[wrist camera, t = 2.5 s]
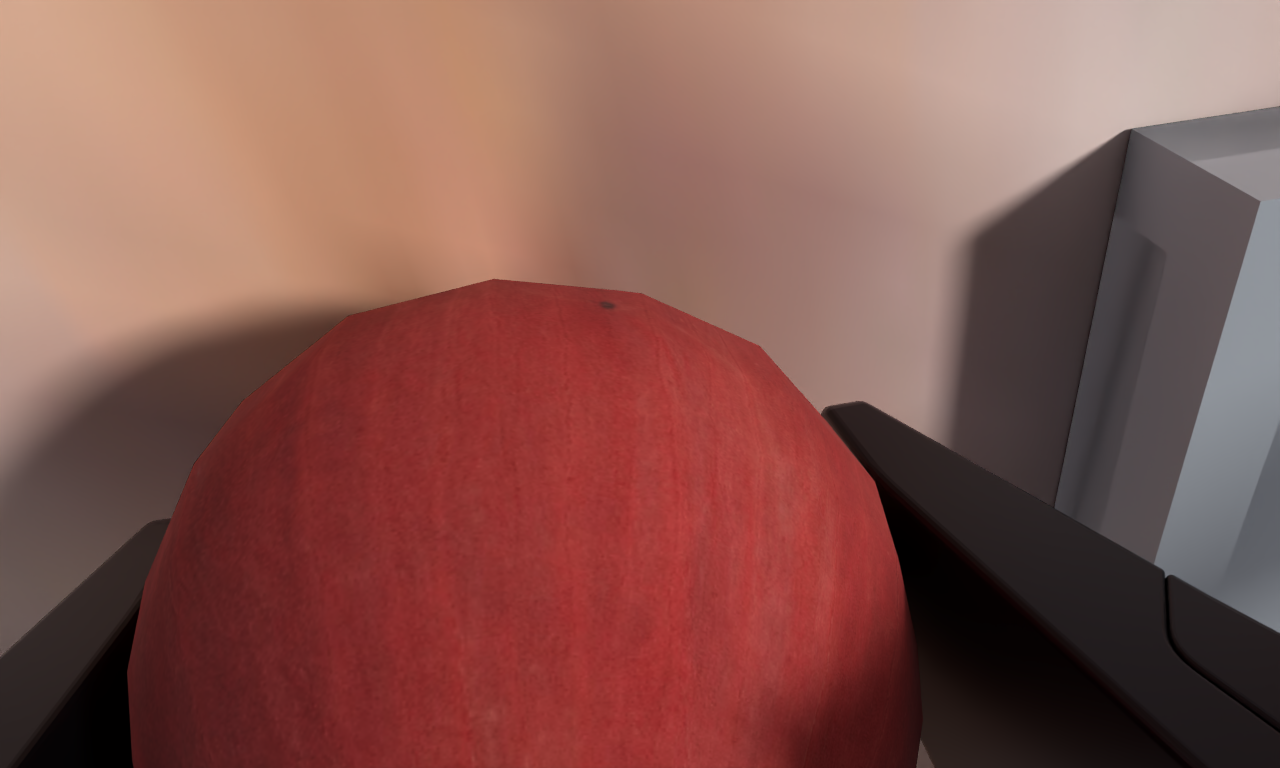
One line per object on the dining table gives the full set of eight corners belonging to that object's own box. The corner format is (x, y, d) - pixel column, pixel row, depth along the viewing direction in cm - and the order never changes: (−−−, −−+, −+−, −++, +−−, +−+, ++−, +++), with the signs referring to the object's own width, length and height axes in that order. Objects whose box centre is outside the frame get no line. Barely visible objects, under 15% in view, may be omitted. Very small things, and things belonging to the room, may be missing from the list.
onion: (612, 624, 13) (769, 1507, 7) (170, 501, 11) (-267, 1657, 4) (861, 277, 11) (1509, 1127, 4) (359, 29, 8) (21, 1012, 2)
